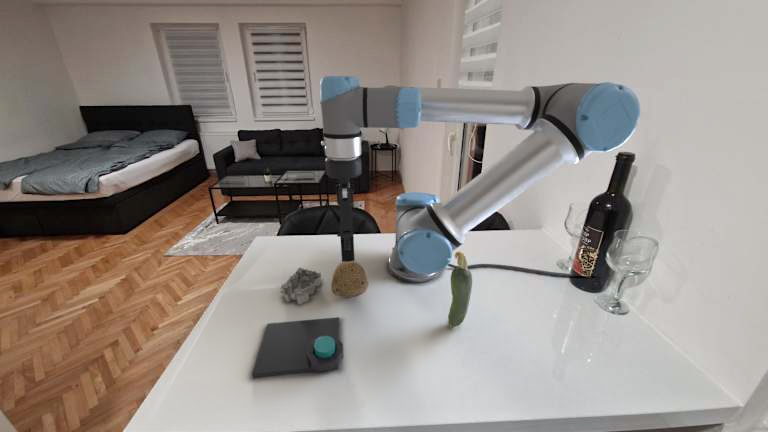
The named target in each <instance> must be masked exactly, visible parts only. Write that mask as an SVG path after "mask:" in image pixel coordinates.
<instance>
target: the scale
mask: <svg viewBox="0 0 768 432" xmlns="http://www.w3.org/2000/svg"><path fill="white" fill-rule="evenodd" d="M323 336H329V337H332V338H333V339H334V341H335V353H334V354H333V355H332V356H331V357H329V358H326V359H320V358H318V357H317V356H316V355H315V350H314V343H315V341H316V340H317V339H319V338H320V337H323ZM343 359H344V344H343V342H342V341H341V340H340V317H338V316H337V317H328V318H317V319H316V318H315V319H306V320H305V319H304V320H303V319H302V320H294V321H293V320H292V321H283V322H281V321H280V322H270V323H269V322H268V323H267V325H266V328H265V330H264V334H263V336H262V341H261V343H260V346H259V350H258V353H257V356H256V360H255V364H254V366H253V369H252V373H251V375H252V379H261V378H270V377H278V376H279V377H280V376H287V375H288V376H289V375H298V374H306V373H307V374H308V373H314V372H317V373H318V372H326V371H334V370H335V371H336V370H339V369H340V367H339V366H340V364H341V362H342V360H343Z"/></svg>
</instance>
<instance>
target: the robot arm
mask: <svg viewBox="0 0 768 432" xmlns="http://www.w3.org/2000/svg"><path fill="white" fill-rule="evenodd" d="M319 84H320V85H319V87H320V101H319V104H320V112H321V120H322V121H321V122H322V130H323V131H322V132H323V140H322V141H321V142H320V145H321V146H322V147H323V146H324V155H325V157H326V158H325V160H324V161H325V174H326V176H327V177H328V178H331V179H336V180H338V181H335V187H334V188H335V194H336V202H337V203H336V204H337V205H338V208H339V229H340V232H336V237H337V238H339V237H340V253H341V263H342V262H347V261H354V262H356V260H355V239H354V231H353V230H354V229H353V208H355V202H354V193H355V185H354V180H351V179H355V178H358V177H360V176H361V175H362V158H361V156H362V135H361V128H363V129H369V128H370V129H371V128H376V129H378V128H380V129H400V130H404V129H410V128H411V129H413V128H414V129H415V128H417V127H418V126H419V124H420V122H432V123H434V122H435V123H454V124H455V123H457V124H482V125H505V126H506V125H507V126H510V125H511V126H515V127H516V129H517V130H521V131H522V130H523V131H525V130H526V131H533V132H531V134H529V135H528V136H527V137H525V138H524V139H523V140H522V141H520V142H519V143H518V144H516V145H515V146H514V147H513V148H511V149H510V150H509V151H507V152H506V153H505V154H504V155H502V156H501V157H500V158H499V159H497V160H496V161H495V162H494V163H492V164H491V165H489V166H488V167H487V168H485V169H484V170H483V171H482V172H481V173H479V174H478V175H477V176H475V177H474V178H473V179H471V180H470V181H469V182H468V183H466V184H465V185H464V186H463V187H461V188H460V189H458V190H457V191H456V192H455V193H453V194H452V195H451V196H449V197H448V198H447V199H446V200H444V201H443V202H440V198H439V196H438V195H436V194H433V193H430V192H421V191H416V192H415V191H411V192H404V193H401V194H399V195H398V196H397V197H396V200H395V244H394V247H392V251H391V254H390V257H389V260H388V269H389V271H390V273H391V275H393V276H394V277H395V278H397V279H399V280H401V281H404V282H408V283H426V282H429V281H432V280H434V279H436V278H437V277H438V276H439V274H440V273H441V272H442V271H444V270H445V269H446V268H447V267H450V268H452V269H455V268H456V267H458V266H459V265H454V264H452V263H451V261H452V257H453V254H454V253H453V251H455V250H456V249H458V248H459V247H461V246H462V245H463V244H464V243H465V240H466V234H467V233H468V232H469V231H471V230H472V229H474V228H475V227H477V226H478V225H480V223H482V222H484V221H485V220H486V219H488V218H489V217H491V216H492V215H493V214H495V213H496V212H497V211H499V210H500V209H502V208H503V207H504V206H505V205H507V204H509V203H510V202H511V201H512V200H514V199H515V198H517V197H518V196H520V195H521V194H522V193H524V192H525V191H526V190H528V189H529V188H531V187H532V186H533V185H534V184H536V183H538V182H539V181H541V180H542V179H543V178H544V177H546V176H547V175H548V174H550V173H552V172H553V171H554V170H556V169H557V168H558V167H560V166H561V165H563V164H570V165H575V164H577V163H578V162H580V161H582V160H583V159H584V158H586V157H587V156H588V155H589V154H591V153H592V152H595V153H606V152H610V151H613V150H616V149H617V148H619V147H621V146H622V145H624V144H625V143H626V142H627V141H628V140H629V139H630V138H631V137H632V135H633V134H634V133H635V130H636V129H637V126H638V120H639V118H640V115H641V104H640V101H639V98H638V96H637V94H636V93H635V92H634V91H633V90H632V89H631V88H629V87H628V86H626V85H624V84H619V83H614V82H610V81H609V82H608V81H605V82H600V83H595V82H593V83H591V82H589V83H588V82H587V83H586V82H569V83H560V84H552V85H551V84H550V85H540V86H539V85H538V86H536V85H535V86H532V85H531V86H529V85H527V86H524V87H523V88H522V89H521V90H509V89H482V88H481V89H480V88H454V87H451V88H450V87H427V86H426V87H424V86H399V85H398V86H397V85H386V86H383V87H367V86H366V87H364V86H361V84H360V79H359V77H358V76H355V75H325V76H323V77H322V78H321V79H320V83H319ZM481 267H486V268H487V267H489V268H501V269H502V268H503V269H511V270H518V271H524V272H531V273H536V274H537V273H538V274H544V275H550V276H558V277H559V276H560V277H572V278H574V277H573V276H572V275H571V274H572V273H566V272H565V273H564V272H556V271H555V272H554V271H549V270H548V271H547V270H541V269H535V268H527V267H522V266H521V267H520V266H514V265H506V264H495V263H477V264H471V265H467V268H468V269H472V268H473V269H474V268H481Z"/></svg>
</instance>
